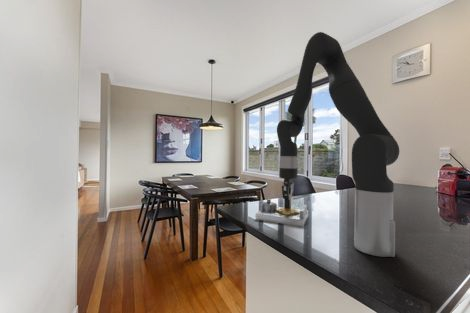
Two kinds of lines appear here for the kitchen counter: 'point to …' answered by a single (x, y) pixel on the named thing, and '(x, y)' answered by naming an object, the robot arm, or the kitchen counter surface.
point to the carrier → (271, 214)
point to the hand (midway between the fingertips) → (287, 207)
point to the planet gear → (287, 210)
